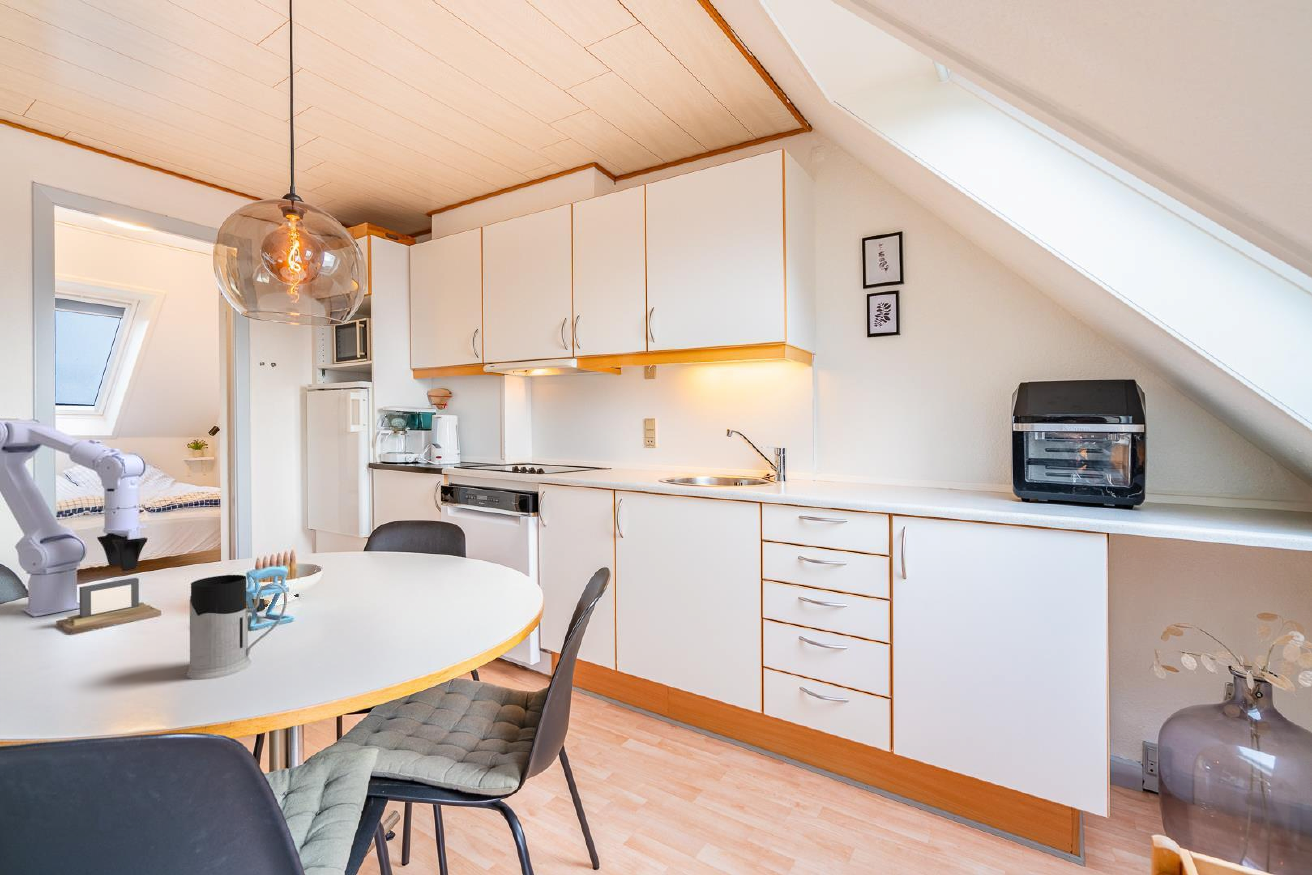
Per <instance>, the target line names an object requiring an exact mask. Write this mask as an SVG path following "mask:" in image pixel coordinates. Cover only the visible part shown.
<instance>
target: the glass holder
mask: <svg viewBox="0 0 1312 875" xmlns="http://www.w3.org/2000/svg"><path fill="white" fill-rule="evenodd" d="M267 586H278V587H280V588H281V589H282V590H283V592H284V604H283V606H282V610H281V612H280V613H279V614H280V616H279V618H278V619H276V620H277V621H276V623H275V624H274V625H273V626H271V627H269V629H268V630H267V631H265V633H263V634H262V635H260V636H259V637H258V638H257V639H256V640H254V642H252V643H251V644H250V645H249V644H248V643H249V638H248V636H249V629H248V626H249V623H248V621H249V620H248V619H249V617H248V615H249V614H248V613H249V612H251V610H254V609H256V608H257V607H258V605H259V600H260V594H261V592H262V590H263V589H264V588H266V587H267ZM246 589H247V576H246V575H242V574H224V575H215V576H210V577H204V578H200V579H197V580H194V581H193V582H191V583H190V597H189V669H188V670H187V672H186V677H187V678H188V679H191V680H192V679H193V680H209V679H216V678H222V677H225V676H231V675H234V674H236V673H239V672H240V671H243V670H245V669H247V668H248V667H249V666H251V665H252V660H251V659H250V657H249V655H250V652H251V649H252V648H253V646H255V645H256V644H257V643H258V642H260V641H261V640H262V639H263V638H265V637H266V636H267V635H269V633H270V632H272V631H273V630H274V629H275V628H276V627H277V626H278V625H277V624H278V623H279V621H280V620H281V618H282V616H283V615H285V611H286V607H287V604H288V603H287V593H286V590H285V588H284V587H283V586H282V585H280V584H276V583H270V584H267V585H265V586H263V587H262V588H261V589H260V590H259V592H258V594H257V598H256V606H255V607H253V608H249V605H247V598H246Z"/></svg>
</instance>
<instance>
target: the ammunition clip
mask: <svg viewBox="0 0 1312 875" xmlns="http://www.w3.org/2000/svg"><path fill="white" fill-rule="evenodd" d="M269 558H270V559H269V560H268V556H267V555H264V557H263V561H262V562H261V558H260V557H257V558H256V561H255V567H254V569H256V570H261V569H264V568H267V567H277V566H278V565H282V566H285V567H286V568H287V569H288V573H287V576H286V579H285V580H289V579H294V578H298V574H297V573H298V572H297V571H298V569H297V568H298V567H297V563H296V562H297V561H296V560H297V559H296V552H295V551H294V549H291V552H290V555H289V552H288V551H285V552H284V554H283V558H282V554H281V552H278V553H277V556H276V559H275V556H274V554H271V555H270V557H269ZM282 577H283V576H278V581H281V579H282ZM273 578H274V577H268V578H264V579H261V580H259V581H258V582H259V583H260V582H273ZM254 583H255V582H254V581H253V584H254ZM294 596H295V597H299V598H300V593H299V594H296V595H294ZM252 600H253V603H254V606H256V599H253V598H252ZM269 603H270V601H269V600H264V599H260V600H259V605H258V607H257V608H256V612H257V613H260V612H264V611H265V610H264V609H265V607H267V606H268V604H269ZM263 610H264V611H263Z"/></svg>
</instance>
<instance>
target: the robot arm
mask: <svg viewBox="0 0 1312 875" xmlns="http://www.w3.org/2000/svg"><path fill="white" fill-rule="evenodd" d="M42 446H44V447H47V448H50V449H53V450H55V451H58V452H62V453H65V454H67V455H69V459H70V461H71V462H73V463H74V464H77V465H79V466H82V467H85V468H87V469H89V470H92V471H94V472H96V475H97V476H98V477H99V478H100V481H101V486H102V488H103V489H104V490H103V492H104V493H103V494H104V496H103V497H104V498H103V499H104V502H103V503H104V504H103V505H104V527H103V529H102V530H103V531H102V532H103V533H104V534H105V535H101V536H97V540H98V542H99V543H100V545H101V546H102V548H103V550H104V553H105V558H106V560H107V563H108V566H109V567H110V568H113V567H120V569H121V571H122V572H128V571H135V570H136V569H137V567H138V566H137V565H138V562H139V559H140V555H141V553H142V551H143V548H144V547H145V545H146V543H147V542H148V537H141V530H142V529H143V530H144V529H146V528H147V525H146V524H140V477H142V476H144V474H145V473H146V469H147V464H146V461H145V459H144V458H143V457H142V456H141V455H139V454H138V453H137V452H136V453H135V452H130V453H123V452H121V451H122V450H121V449H119V448H112V447H109V446H107V445H105V444H102V440H100V439H96V438H95V439H93V438H92V439H84V440H83V439H82V440H79V439H77V438H74V437H73V436H71V435H68V434H67V433H64V432H62V431H60V430H58V429H56V428H54V427H52V426H51V424H50V423H48V422H43V421H41V420H40V419H0V494H1V496H2V497H3V499H4V501H5V503H6V505H7V506H8V508H9V511H10V512H11V513H12V516H13V518H14V519H15V520H16V523H17V524H18V525H19V528H20V530H21V531H22V533H23V536H22V538H21V539H20V540H18V542H17V543H16V544H15V546H14V547H15V549H16V551H17V555H18V557H17V558H18V563H19V565H20V567H21V569H23V570H24V571H25V572H26V574H27V575H30V576H29V578H28V582H27V586H28V587H27V593H28V594H27V599H28V600H27V603H28V604H27V605H28V606H24V607H21V611H23V612H25V613H27V614H28V615H30V616H32V617H34V618H35V617H40V616H46V615H51V614H55V613H56V614H57V613H61V612H67V611H71V610H77V609H80V602H78V570H77V569H78V568H79V567H81V562H82V561H84V560H85V558H86V557H87V553H88V548H87V545H86V543H85V541H84V540H83V539H82V538H80V537H78V536H77V535H76V533H75V532H74V530H73V529H70V528H68V527H66V526H63V525H61V524H59V523H58V522H57V520H56V518H55V516H54V515H53V513H52V511H51V509H50V506H48V504H47V502H46V500H45V498H44V497H43V494H42V493H41V490H40V489H39V487H38V486H37V484H36V482H35V480H34V479H33V477H32V475H31V473H30V472H29V470H28V468H27V466H26V463H27V461H28V460H30V459H32V458H33V457H34V456H35V454H36V453H37V452H38V451H39V450H40V449H41V448H42Z"/></svg>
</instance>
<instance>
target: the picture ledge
mask: <svg viewBox="0 0 1312 875" xmlns="http://www.w3.org/2000/svg"><path fill="white" fill-rule="evenodd" d="M159 615H161V616H162V610H161V609H159V608H156V607H152V606H151V605H150V604H145V603H144V602H142V601H141V602H139V607H135V608H130V609H125V610H120V611H115V612H110V613H105V614H100V615H95V616H90V617H85V618H80V614H75V615H70V616H67V617H66V618H63V619H59V620H56V621H55V622H56V623H55V624H56V625H57V626H56V627H58V628H60V629H61V628H62V630H63V629H64V630H63V631H65V630H66V631H65V632H67V633H68V632H69V633H68V634H70V633H72V634H73V635H75V634H74V633H77V634H82V633H85V632H84V631H87V632H89V631H88V630H91V631H93V630H92V629H96V630H100V629H99V628H101V629H104V628H103V627H105V628H108V627H107V626H110V627H112V626H111V625H114V624H119V625H123V624H122V623H124V624H127V623H126V622H128V623H131V622H130V621H133V622H135V621H134V620H137V621H142V620H146V619H145V618H147V619H150V618H149V617H151V618H154V617H153V616H156V617H160V616H159ZM141 619H142V620H141ZM114 626H115V625H114ZM81 632H82V633H81ZM72 634H71V635H72Z"/></svg>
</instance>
